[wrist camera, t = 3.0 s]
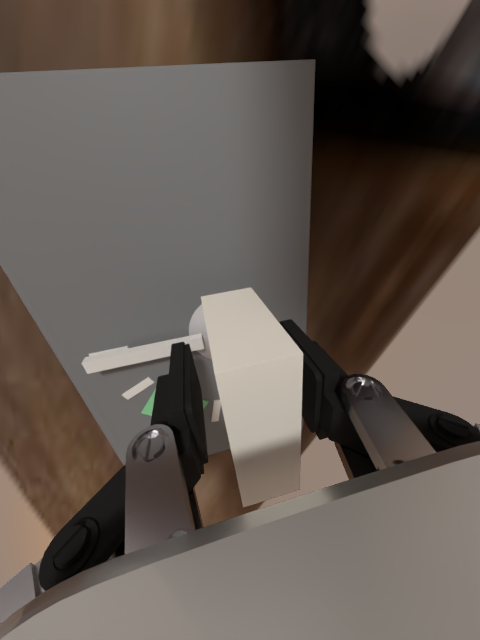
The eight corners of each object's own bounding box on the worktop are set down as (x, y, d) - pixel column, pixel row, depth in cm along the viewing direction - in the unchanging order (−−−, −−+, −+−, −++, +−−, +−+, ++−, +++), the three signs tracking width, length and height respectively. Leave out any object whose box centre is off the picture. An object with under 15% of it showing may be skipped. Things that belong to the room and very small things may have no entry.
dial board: (-55, 103, 9) (-120, 76, 7) (293, 82, 11) (316, 57, 9) (135, 452, 19) (130, 478, 17) (293, 410, 21) (303, 429, 19)
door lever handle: (58, 307, 10) (-114, 449, 4) (241, 275, 12) (303, 353, 6) (111, 405, 13) (52, 568, 7) (252, 371, 15) (299, 489, 9)
